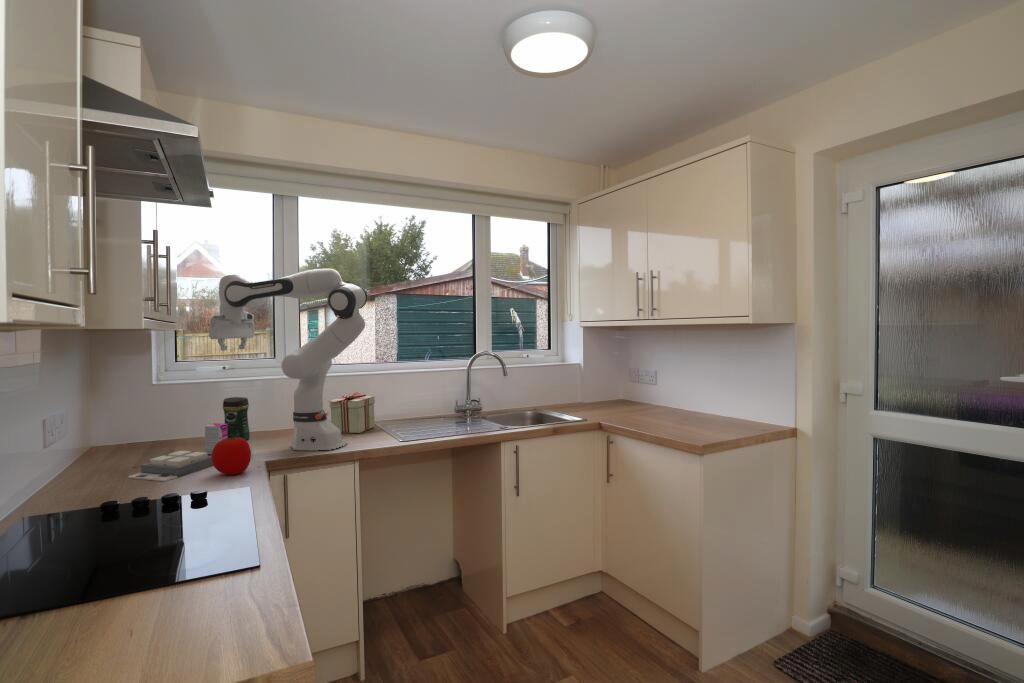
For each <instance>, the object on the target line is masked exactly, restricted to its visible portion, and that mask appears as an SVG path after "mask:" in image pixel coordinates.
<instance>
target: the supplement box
mask: <svg viewBox="0 0 1024 683" xmlns="http://www.w3.org/2000/svg"><path fill="white" fill-rule="evenodd" d="M227 438H228V424H225V423H221V422H219V423H217V422H214V423H210V424H207V425H204V452H205V453H208V456H212V451H213V449H214V446H215V445H216V444H217V443H218V442H219V441H221V440H224V439H227Z"/></svg>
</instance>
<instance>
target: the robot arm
mask: <svg viewBox="0 0 1024 683" xmlns="http://www.w3.org/2000/svg"><path fill="white" fill-rule="evenodd" d="M272 297H273V298H274V297H282V298H283V297H285V298H292V299H293V298H294V299H301V300H302V299H304V300H305V299H306V300H308V299H317V298H321V297H327V302H328V303H327V304H328V306H329V308H330V310H331V311H332V312H333V314H334V316H335V318H336V319H335V320H334V321H333V322H331V323H330V324H329V325H328V326H327V327H326V328H325V329H324V330H323V331H322V332H320V333H319V334H318V335H317V336H315V337H314V338H313V339H311V340H309V341H308V342H307V343H305V344H304V345H302V346H301V347H298V349H296V350H295V351H293V352H292V353H289V354H288V355H286V356H284V358H283V359H282V361H281V371H282V372H283V374H284V375H285V376H286V377H287V378H289V379H294V380H295V379H296V380H299V382H298V385H297V387H296V388H295V390H294V393H293V412H292V420H293V432H292V438H291V439H292V440H291V444H290V448H292V450H293V451H318V450H329V451H332V450H331V449H334V450H337V449H336V448H338V449H340V448H339V447H341V448H342V446H343V447H345V446H347V445H348V440H345V439H343V438H342V433H341V431H340V429H339V428H337V427H336V426H335V425H333V424H332V423H331V420H329V419H328V417H327V416H329V415H330V414H329V413H330V412H329V411H327V412H325V410H324V404H323V403H324V401H323V400H324V395H323V394H324V387H325V382H326V378H327V374H328V372H329V371H330V369H331V367H332V360H333V359H335V358H337V357H338V356H339V355H340V354H342V352H344V351H345V350H346V349H347V348H348V347H349V346H350V345H351V344H352V343H353V342H355V341H356V339H357V338H358V337H360V336H361V333H362V332H363V331H364V330H365V327H366V321H365V319H364V317H363V316H362V315H361V312H360V310H361V309H363V307H364V306H365V305H366V304H367V302H368V292H367V291H366V289H365V288H364V287H363V286H362V285H359V284H356V283H353V282H350V281H349V280H348V281H347V280H346V281H343V279H342V276H341V275H340V273H339V271H337V270H336V269H335V268H315V269H308V270H304V271H300V272H296V273H293V274H291V275H287V276H282V277H279V278H276V279H274V278H273V279H270V280H263V281H258V282H257V281H255V282H253V281H249V280H248V279H245V278H244V277H242V276H241V275H238V274H229V275H225V276H222V277H221V278H220V279H219V284H218V298H219V301H220V302H219V315H217V314H215V315H213V316H212V317H211V318H210V320H209V321H210V324H209V328H208V329H209V330H208V336H209V339H211V340H217V344H219V347H220V348H219V349H220V351H222V352H223V351H227V350H228V346H227V345H225V342H226V341H225V340H230V339H240V341H241V342H240V344H239V345H238V349H239V350H245V349H246V345H247V342H248V338H250V339H251V338H254V337H255V335H256V334H255V330H256V329H255V328H256V327H255V323H254V320H255V315H254V314H252V313H250V312H248V311H245V308H258V307H262V306H264V305H265V304H266V303H267V301H268V298H272Z"/></svg>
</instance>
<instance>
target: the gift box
mask: <svg viewBox="0 0 1024 683" xmlns="http://www.w3.org/2000/svg"><path fill="white" fill-rule="evenodd" d="M375 401H376V400H375V396H374V395H373V396H371V395H369V396H368V395H367V394H364V393H361V392H360V391H356V392H354V393H353V394H351V393H350V394H344V395H342V396H341V397H339V398H336V399H335V398H334V399H331V400H328V401H327V402H328V403H329V408H330V422H331V423H332V424H333V425H335V426H336V427H337V428H339V429H340V431H341V434H361V433H364V432H366V431H368V430H370V429H373V428H375Z"/></svg>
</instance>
